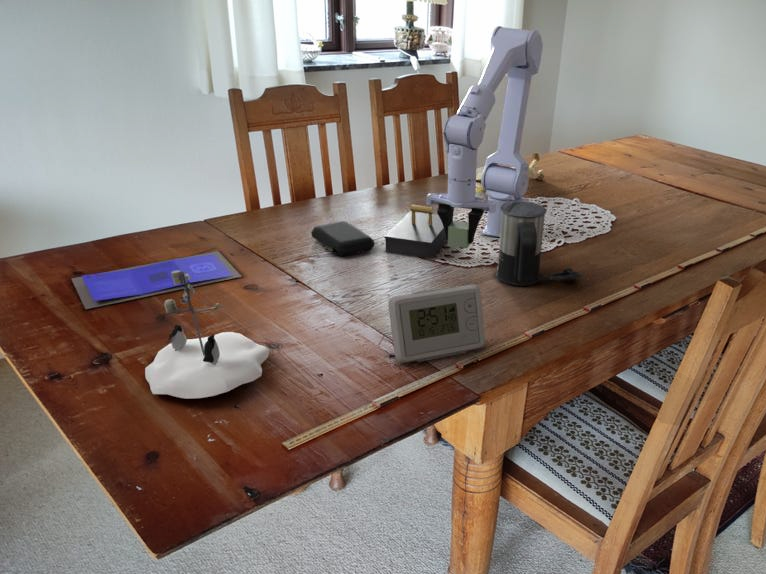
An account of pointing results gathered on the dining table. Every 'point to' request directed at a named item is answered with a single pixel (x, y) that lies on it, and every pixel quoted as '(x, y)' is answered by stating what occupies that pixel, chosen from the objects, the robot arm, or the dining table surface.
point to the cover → (417, 226)
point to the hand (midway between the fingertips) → (459, 240)
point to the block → (458, 234)
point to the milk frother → (524, 245)
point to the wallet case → (416, 247)
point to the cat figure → (530, 173)
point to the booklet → (151, 279)
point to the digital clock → (436, 323)
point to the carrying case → (342, 238)
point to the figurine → (202, 357)
